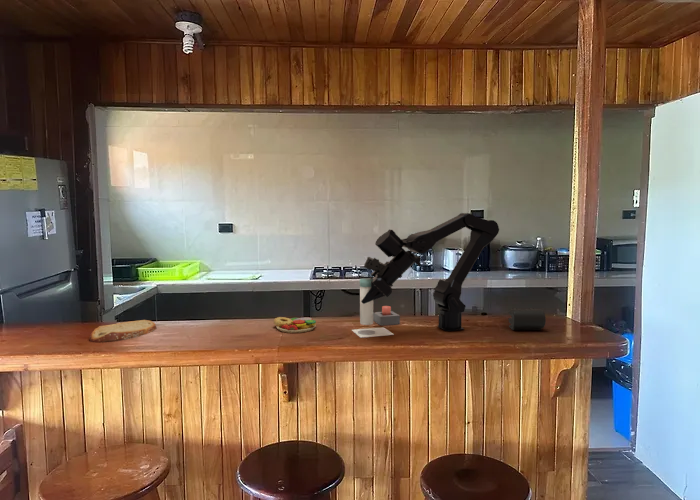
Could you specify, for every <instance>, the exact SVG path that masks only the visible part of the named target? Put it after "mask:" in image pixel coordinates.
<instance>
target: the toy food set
mask: <svg viewBox="0 0 700 500" xmlns="http://www.w3.org/2000/svg"><path fill="white" fill-rule="evenodd" d="M273 324H274V326H276V328H277V330H278V331H280V332H283V333H291V334H301V333H307V332H310V331H312V330H314V329H315V328H316V326H317V325H316V324H317V322H316V320H314V319H313V318H312V317H308V316H307V317H300V318H299V317H292V318H289V317H286V316H285V317H283V316H278V317H275V318H274V319H273Z"/></svg>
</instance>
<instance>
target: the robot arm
mask: <svg viewBox="0 0 700 500" xmlns="http://www.w3.org/2000/svg"><path fill="white" fill-rule="evenodd" d="M465 228H466V229H468V230H469V231H470V237H469V238H470V239H469V242H468V244H467V245H466V247H465V249H464V251H463V252H462V254H461V255H460V257H459V259H458V261H457V262H456V264H455V266H454V268H453V269H452V271H451V272H450V274H449V276H448V277H447V278H446V279H445V280H444V279H439V280H438V281H437V284H436V285H435V287H434V288H433V291H434V292H433V293H432V294H433V295H432V297H433V300H434V302H435V304H437V308H438V309H439V314H438V324H437V327H438V328H439V329H441V330H443V331H445V332H452V331H453V332H454V331H465V329H464V327H462V315H463V313H465V310H466V304H464V303H463V301H462V300H461V299H460V298H461V295H462V289H463V288H462V287H463V283H464V282H465V280H466V278H467V276H468V275H469V273H470V272H471V270H472V268H473V266H474V264H475V263H476V261H477V259H478V258H479V256H480V254H481V253H482V251H483V249H484V248H485V247H486V246H488V245H489V244H491V243H492V242H493V241H494V240H495V238H496V237H497V235H498V234H499V232H500V227H499V224H498V222H497V221H496V220H492V219H484V218H482V217H478V216H476V215H473V213H472V214H471V213H468V212H461V213H459V214H458V215H456V216H454V217H452V218H451V219H448V220H447V221H445V222H442V223H441V224H438V225H436V226H435V227H432V228H431V229H427V230H423V231H417V232H415V233H412V234H409V235H408V236H407V237H406V238H400V237H399V236H398V234H397V233H396V232H395V231H394V230H393V229H388V230H387V231H386V232H384V233H382V234H381V235H380V236H378V238H377V239H376V241H375V246H376V247H377V248H378V249H379V250H380V251H381V252H383V254H384V255H386V256H387V257H388V258H390V257H392V259H391V260H388V261H386V262H384V263H383V262H381V261H380V259H379V258H376V257H373V258H372V257H371V256H367V258H366V260H365V262H364V265H363V267H364V268H365V269H368V270H371V271H372V272H371V276H372V277H371V276H370V279H374V280H373V282H372V281H371V288H370V290H369V291H368V292H367V294H366V295H365V297H364V298H363V300H362V301H361V302H362V303H363V304H365V303H367V302H370V301H372V300H373V301H375V300H377V299H379V298H383V297H387V298H388V297H390V295H391V294H392V293H393V288H392V287H393V285H394V283H396V282H397V280H399V279H401V278H403V275H404V273H406V272H407V271H408V269H410V267H412V266H413V265H414V264H415V265H417V267H421V259H422V258H421V257H420V255H415V254H414V253H417V254H425V253H427V252H428V251H429V250H431V249H432V248H433V247H434V246H435V245H436V244H437V243H438V242H439V241H441V240H442V239H445V238H446V237H448V236H450V235H453V234H454V233H456V232H458V231H460V230H462V229H465ZM404 248H407V249H408V250H405V249H404Z"/></svg>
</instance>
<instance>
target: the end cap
mask: <svg viewBox="0 0 700 500" xmlns="http://www.w3.org/2000/svg"><path fill="white" fill-rule="evenodd" d="M508 314H509V316H510V317H509V318H508V323H509V324H508V327H509V328H510V329H511V330H512V331H518V330H519V331H541V330H543V329H544V328H545V326H546V324H547V323H546V319H547V318H546V313H545V311H544V310H543V309H536V308H530V307H529V308H526V309H520V308H514V307H513V308H509V310H508Z"/></svg>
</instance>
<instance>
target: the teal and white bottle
mask: <svg viewBox="0 0 700 500" xmlns="http://www.w3.org/2000/svg"><path fill="white" fill-rule="evenodd" d="M373 280H374V279H370V278H367V277H366V278H364V277H363V278H360V279H359V324H360V325H363V326H369V325H370V326H371V325H373V324H374V321H373V312H374V300H372V301H370V302H367V303H365V304H363V303H362V302H361V301H362V300H363V298H364V297H365V295H366V294H367V292H368V291H369V290H370V288H371V281H372V282H373Z"/></svg>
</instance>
